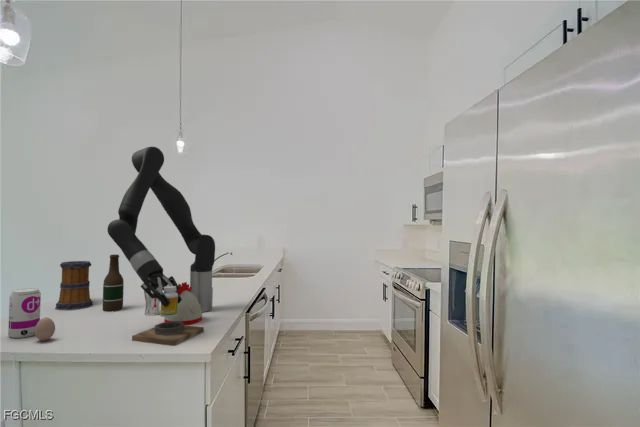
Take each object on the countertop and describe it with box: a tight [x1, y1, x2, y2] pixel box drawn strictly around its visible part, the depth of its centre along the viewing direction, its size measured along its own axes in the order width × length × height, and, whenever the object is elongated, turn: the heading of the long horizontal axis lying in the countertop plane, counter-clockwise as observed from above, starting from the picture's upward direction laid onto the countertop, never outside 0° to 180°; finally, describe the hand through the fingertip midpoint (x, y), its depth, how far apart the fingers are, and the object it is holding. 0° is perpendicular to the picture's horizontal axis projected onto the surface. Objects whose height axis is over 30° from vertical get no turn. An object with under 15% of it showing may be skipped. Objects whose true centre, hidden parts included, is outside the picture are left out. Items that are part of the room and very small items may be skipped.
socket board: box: [131, 322, 205, 346], centre depth 125 cm, size 16×16×4 cm
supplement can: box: [7, 287, 42, 339], centre depth 124 cm, size 8×8×15 cm
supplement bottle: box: [159, 285, 178, 318], centre depth 125 cm, size 5×5×10 cm
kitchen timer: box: [163, 281, 203, 326], centre depth 144 cm, size 14×14×15 cm
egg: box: [34, 316, 56, 342], centre depth 118 cm, size 5×5×7 cm
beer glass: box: [143, 290, 161, 316], centre depth 155 cm, size 7×7×15 cm
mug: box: [54, 260, 94, 311], centre depth 168 cm, size 19×14×20 cm
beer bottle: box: [102, 254, 125, 313], centre depth 161 cm, size 8×8×24 cm
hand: (173, 303), depth 124 cm, fingers closed on supplement bottle, 5 cm apart
